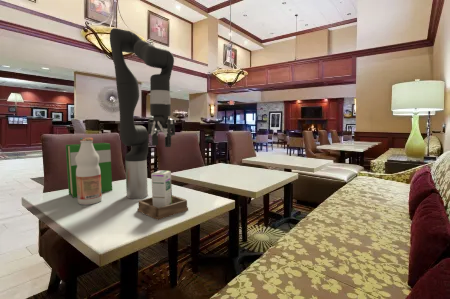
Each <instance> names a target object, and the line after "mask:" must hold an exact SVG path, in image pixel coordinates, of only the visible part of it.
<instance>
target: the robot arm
mask: <svg viewBox="0 0 450 299" xmlns="http://www.w3.org/2000/svg"><path fill="white" fill-rule="evenodd" d="M109 44H110V49H111V56H112V59H113V67H114V73H115V84H116V92H117V93H116V94H117V97H118V98H117V99H118V100H117V101H118V107H119V108H118V109H119V110H118V111H119V135H120V139H121V140H120V141H121V142H122V144H123V145H125V146H127V147H131V149H130V151H128V152H127V153H126V154H125V160H124V161H125V183H126V184H125V185H126V198H127V199H132V200H137V199H139V200H140V199H145V198H147V197H148V192H149V191H148V168H147V167H148V165H147V164H148V163H147V162H148V161H147V160H148V159H147V157H148V154H149V135H150V136H151V145H152V146H158V145H159V136H158V135H159V133H160V132H162V133H163V136H164V147H165V148H171V147H172V137H173V136H175V135H176V126H175V125H176V124H175V119H174V118H170V116H171V115H172V112H171V111H172V108H171V106H172V104H171V101H172V100H171V99H172V98H171V89H170V87H171V86H170V81H171V76H172V71H173V67H174V64H175V56H174V54H173V53H172V52H171V51H170V50H167V49H164V48H161V47H156V46H155V45H153V44H152V43H150V42H148V41H145V40H142V38H141V37H140V36H139V35H138V34H136V33H135V32H133V31H130V30H126V29H121V28H115V27H113V28H112V29H111V30H110V32H109ZM123 53H126V54H128V53H129V54H135V56H136V57H137V58H138V59H140V60H142V61H143V62H144V63H145V65H146V66H148V67H149V68H150V67H151V68H155V69H161V70H160V73H156V74H152V75H151V76H150V78H149V79H150V80H149V83H150V93H149V112H150V114H149V116H151V117H152V118H149V119H147V123H148V124H147V128H146V127H145V126H143V125H140V124H139V125H138V124H137V125H136V124H135V110H136V107H137V104H138V102H139V100H140V87H139V81H138V79H137V77H136V76H135V74H134V72H133V71H132V70H131V68H130V67H129V66H128V64H127V62H126V60H125V57H124V54H123ZM147 129H148V130H147Z"/></svg>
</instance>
